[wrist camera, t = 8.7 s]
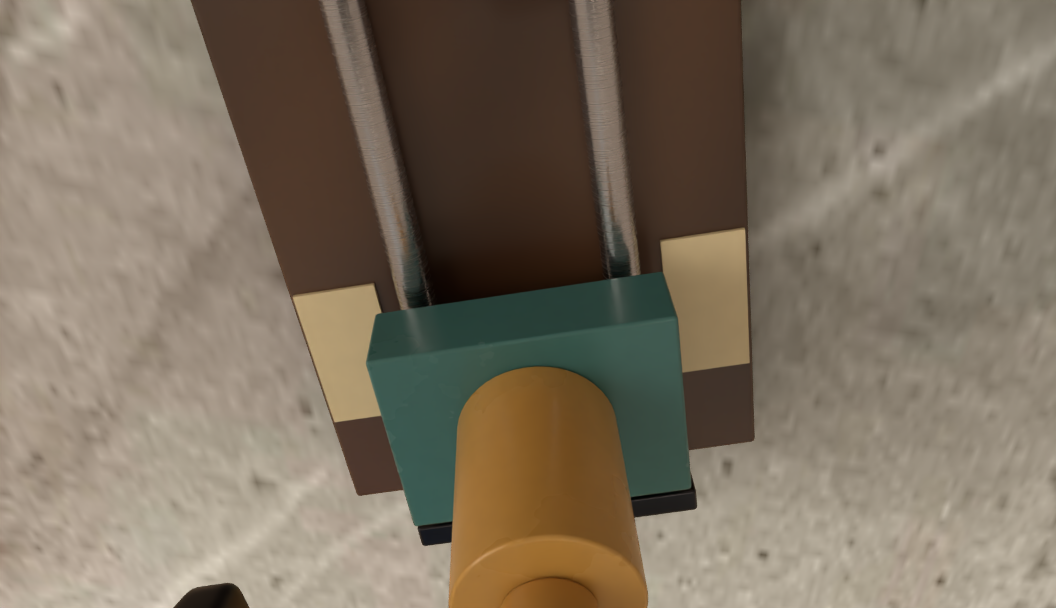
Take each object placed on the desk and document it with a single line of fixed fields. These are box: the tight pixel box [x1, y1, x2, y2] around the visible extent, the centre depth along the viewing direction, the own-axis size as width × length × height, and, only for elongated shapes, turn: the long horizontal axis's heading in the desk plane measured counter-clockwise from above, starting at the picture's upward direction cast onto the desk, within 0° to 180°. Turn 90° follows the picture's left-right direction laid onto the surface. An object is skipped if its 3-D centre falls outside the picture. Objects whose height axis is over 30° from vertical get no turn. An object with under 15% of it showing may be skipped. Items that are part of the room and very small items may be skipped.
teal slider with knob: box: [366, 272, 692, 608], centre depth 17 cm, size 6×4×7 cm
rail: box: [191, 0, 755, 546], centre depth 19 cm, size 10×14×3 cm
